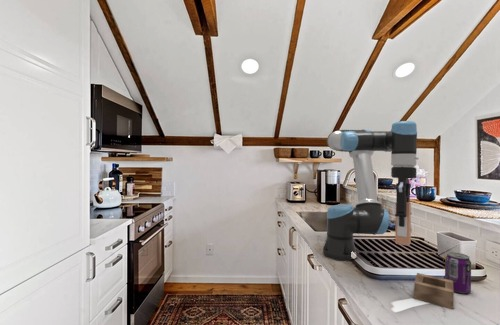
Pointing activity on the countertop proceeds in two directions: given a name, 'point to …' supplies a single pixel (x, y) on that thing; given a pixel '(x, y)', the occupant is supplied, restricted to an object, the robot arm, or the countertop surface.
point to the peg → (407, 240)
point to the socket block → (434, 290)
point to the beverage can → (458, 271)
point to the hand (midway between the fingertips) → (403, 234)
